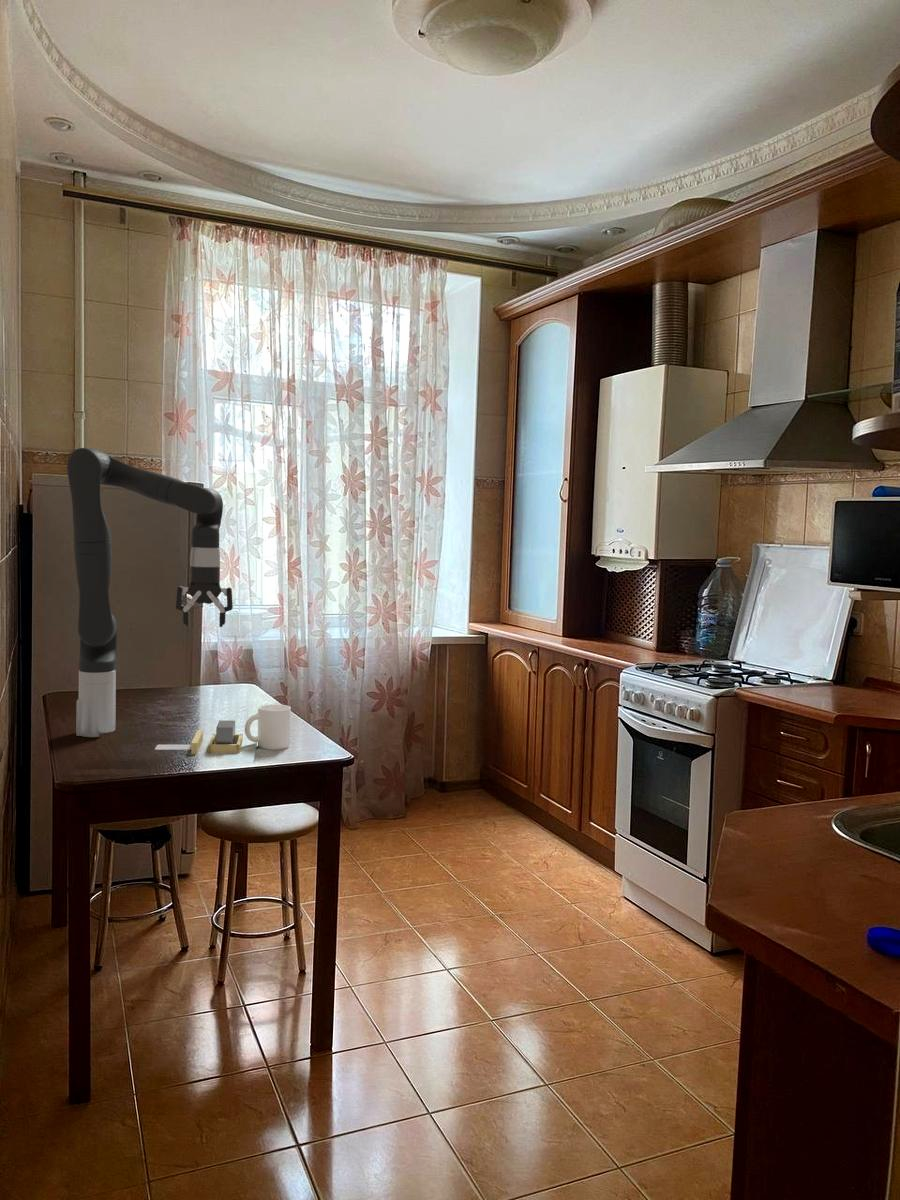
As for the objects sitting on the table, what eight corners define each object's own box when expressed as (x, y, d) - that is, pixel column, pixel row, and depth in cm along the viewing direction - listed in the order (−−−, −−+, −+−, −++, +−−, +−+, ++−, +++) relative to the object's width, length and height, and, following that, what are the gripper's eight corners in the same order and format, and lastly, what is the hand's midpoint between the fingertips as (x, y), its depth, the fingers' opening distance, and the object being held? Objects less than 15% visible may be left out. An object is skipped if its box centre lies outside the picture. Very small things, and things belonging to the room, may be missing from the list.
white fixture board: (151, 758, 226) (151, 743, 226) (160, 744, 240) (160, 730, 240) (244, 758, 230) (244, 743, 230) (247, 744, 244) (247, 730, 243)
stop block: (219, 743, 239) (219, 720, 239) (234, 743, 240) (235, 720, 240) (215, 751, 232) (216, 727, 231) (232, 751, 232) (232, 727, 232)
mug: (249, 753, 235) (250, 712, 234) (239, 745, 242) (239, 706, 241) (294, 748, 241) (295, 709, 240) (283, 741, 248) (283, 703, 247)
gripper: (234, 564, 249) (233, 625, 250) (178, 563, 246) (178, 624, 248) (232, 566, 241) (230, 628, 242) (175, 564, 239) (174, 627, 240)
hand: (204, 626), depth 245 cm, fingers open, 8 cm apart
